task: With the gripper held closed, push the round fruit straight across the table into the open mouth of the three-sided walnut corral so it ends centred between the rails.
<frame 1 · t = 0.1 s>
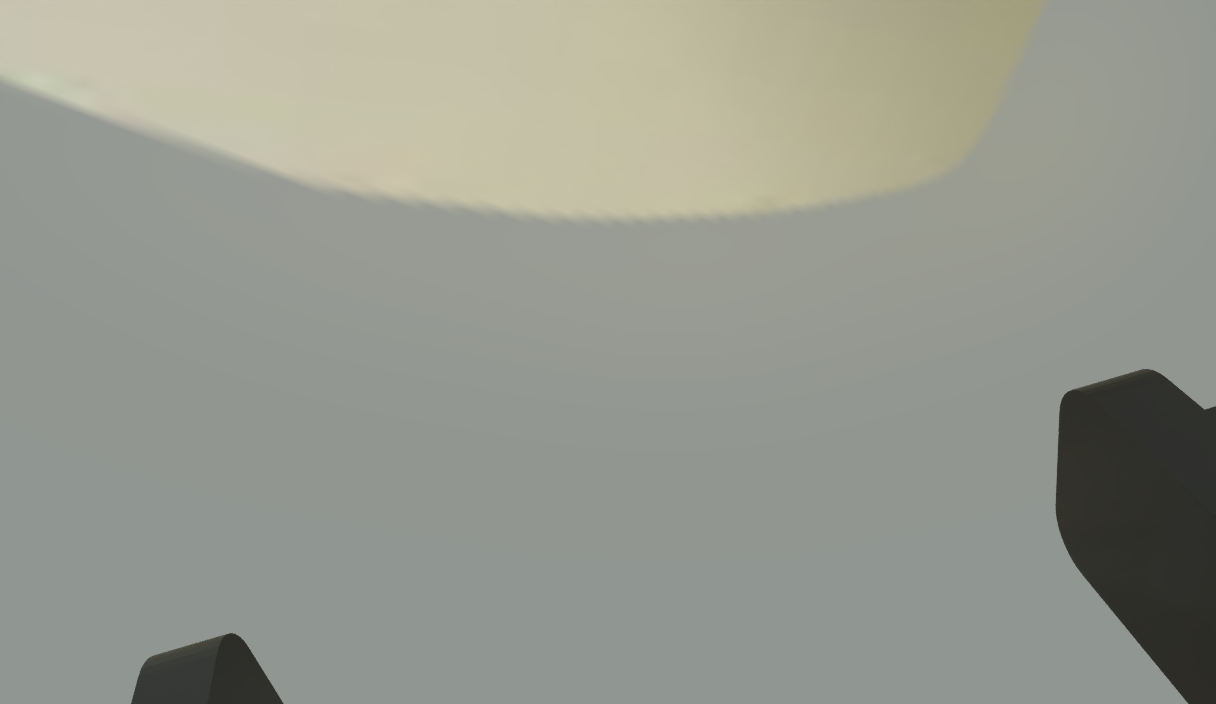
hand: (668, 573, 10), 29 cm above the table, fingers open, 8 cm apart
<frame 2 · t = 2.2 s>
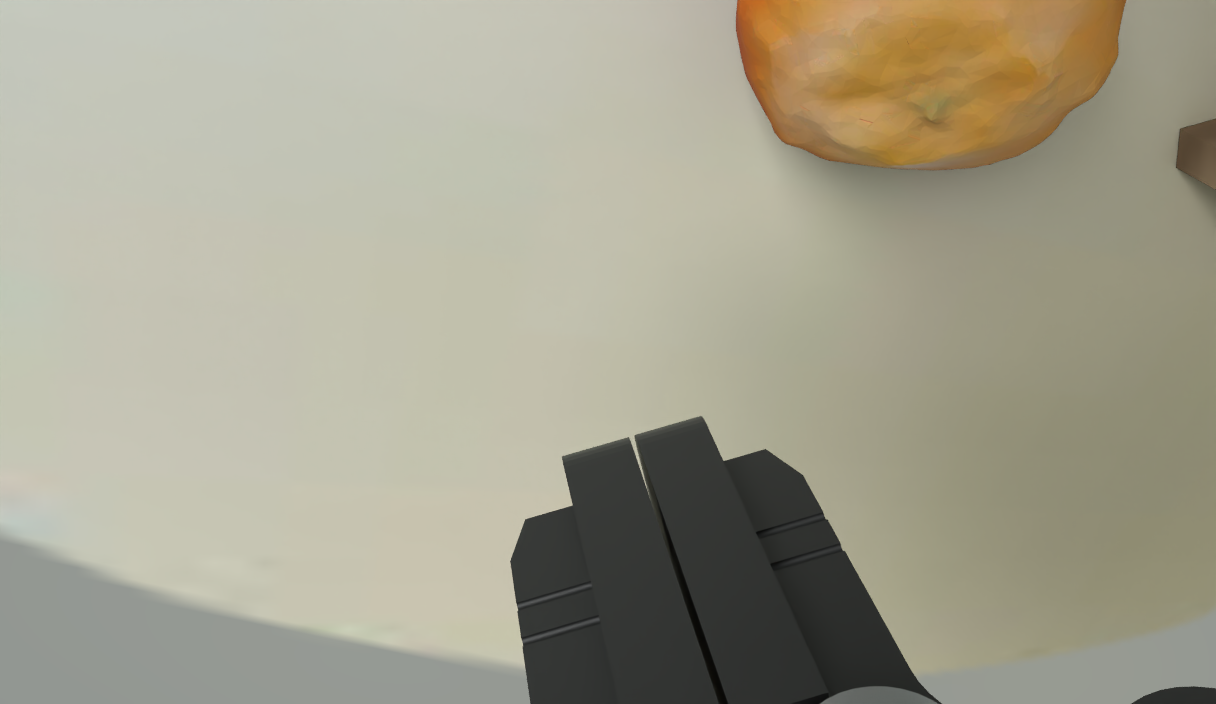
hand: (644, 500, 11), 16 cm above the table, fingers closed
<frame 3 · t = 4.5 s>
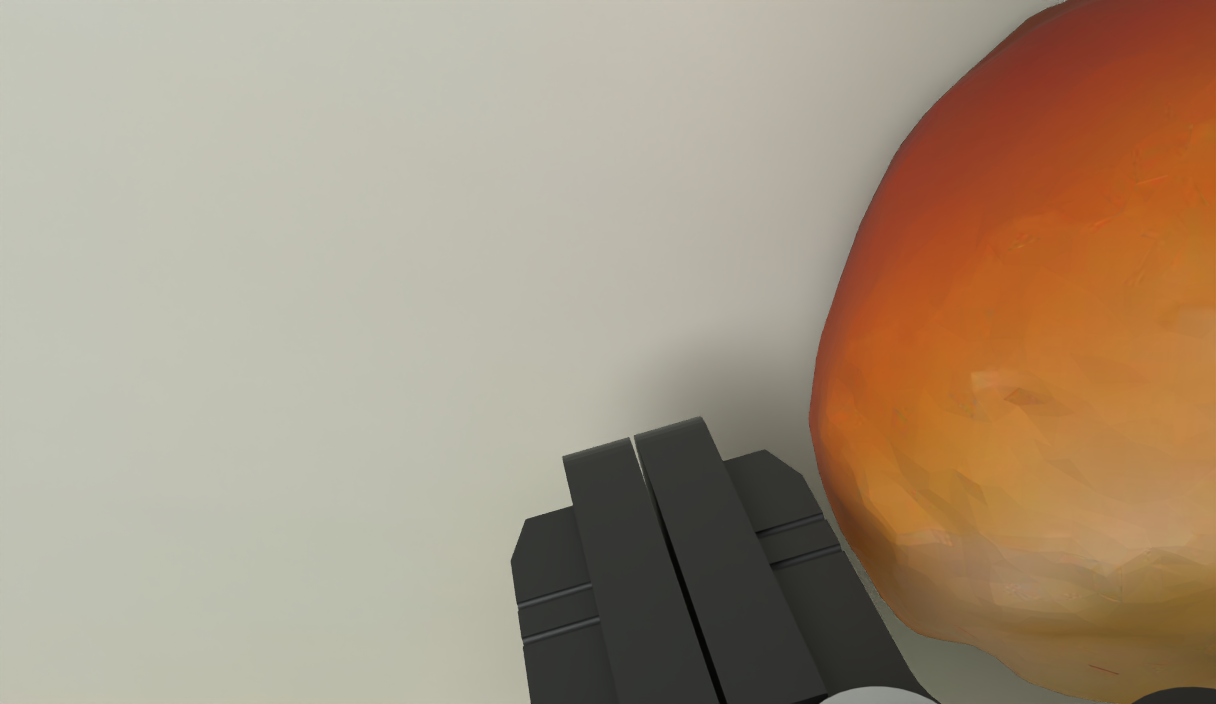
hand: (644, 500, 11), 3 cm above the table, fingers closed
fruit: (1013, 221, 13), on the table, touching gripper
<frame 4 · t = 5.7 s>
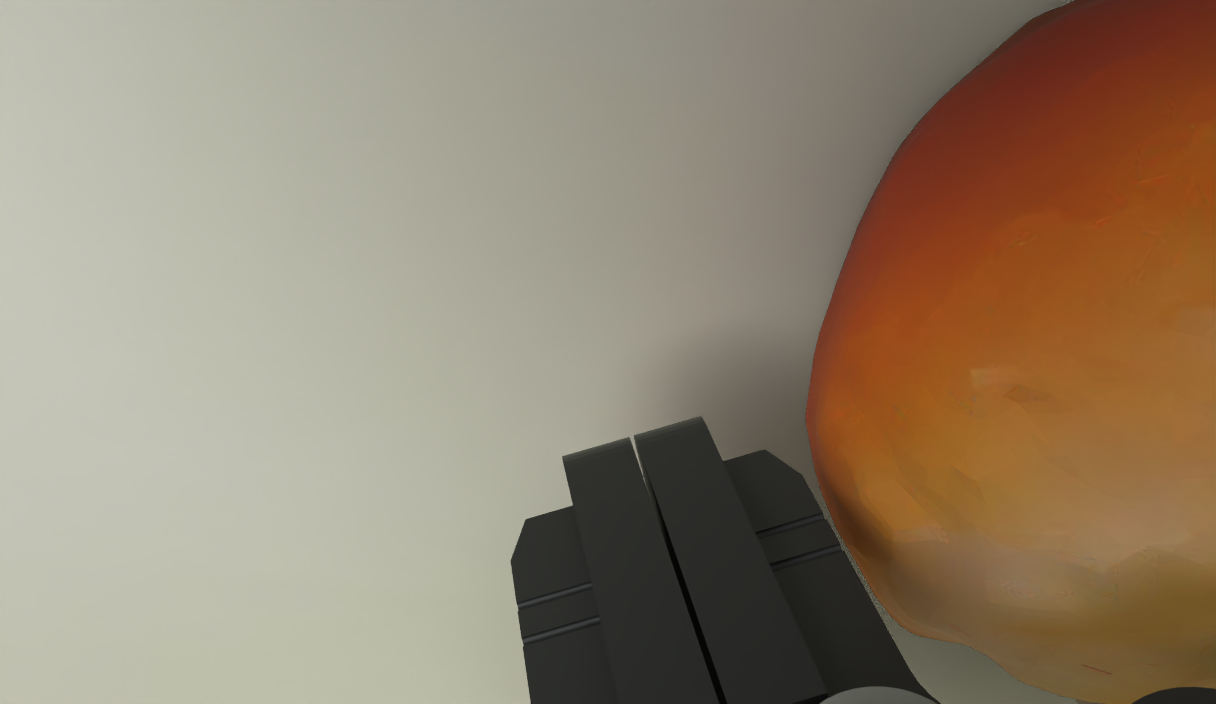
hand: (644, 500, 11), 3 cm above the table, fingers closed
fruit: (1010, 224, 14), on the table, touching gripper
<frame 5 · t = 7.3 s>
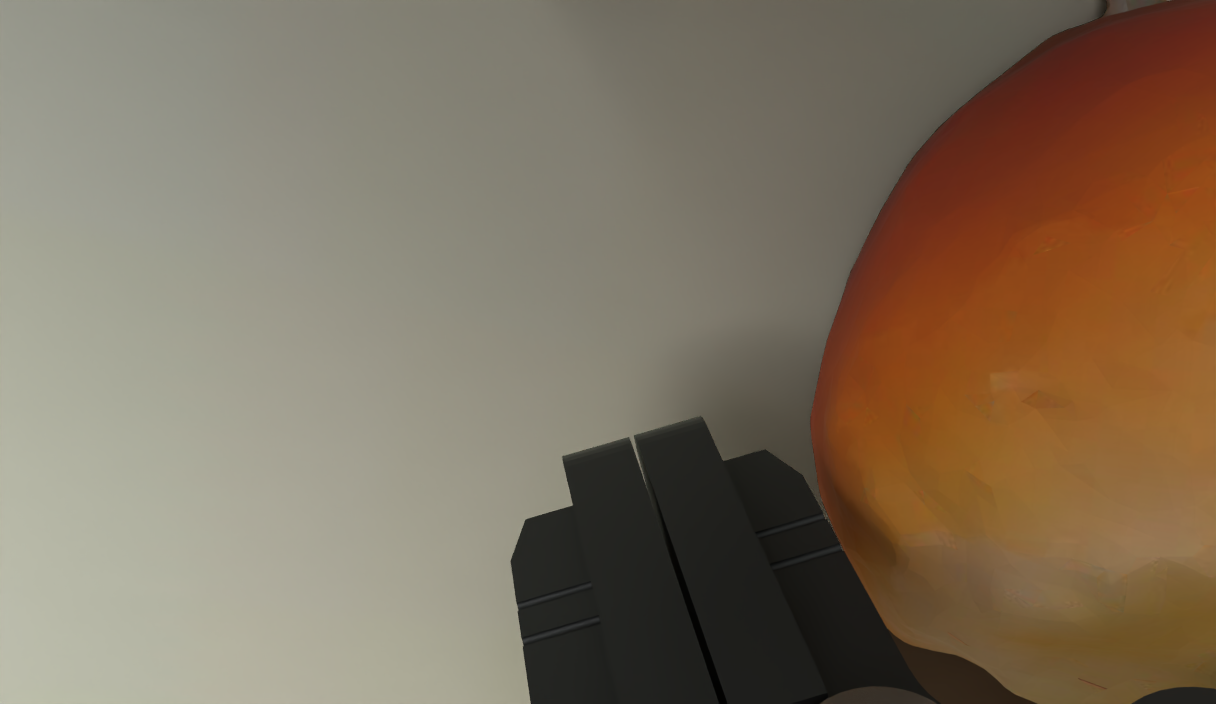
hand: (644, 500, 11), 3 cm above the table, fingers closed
walnut tray: (1014, 239, 13), on the table
fruit: (1013, 241, 14), on the table, touching gripper
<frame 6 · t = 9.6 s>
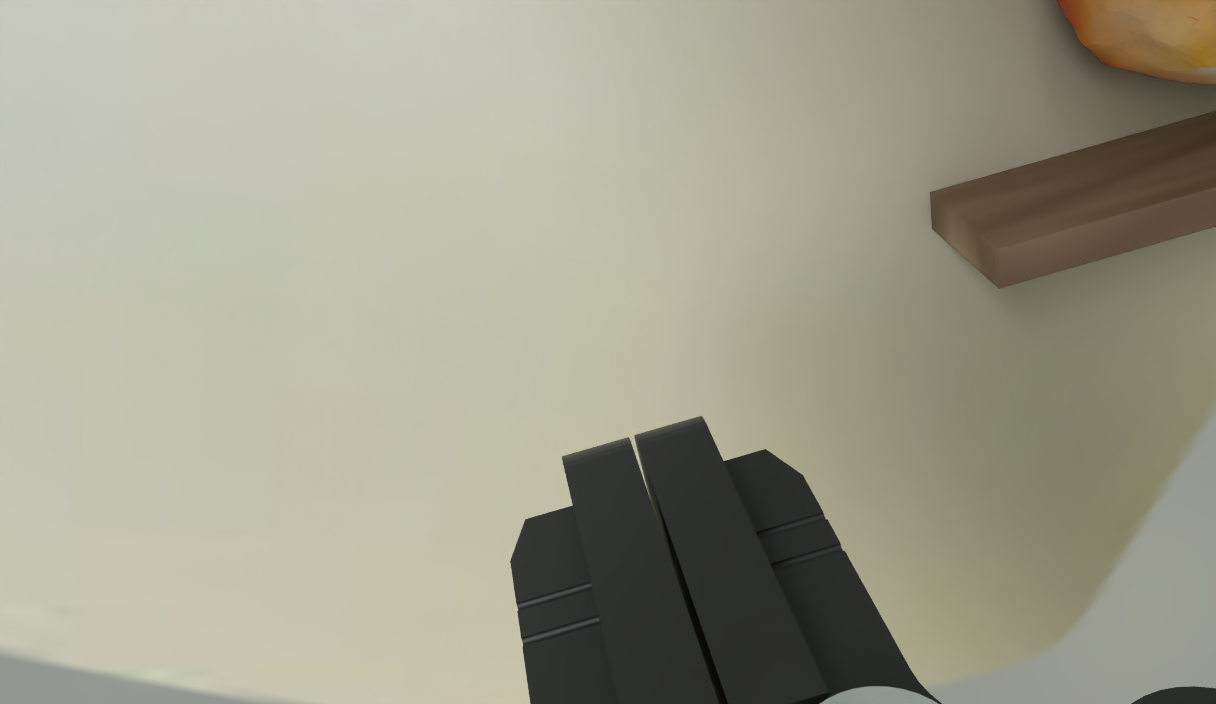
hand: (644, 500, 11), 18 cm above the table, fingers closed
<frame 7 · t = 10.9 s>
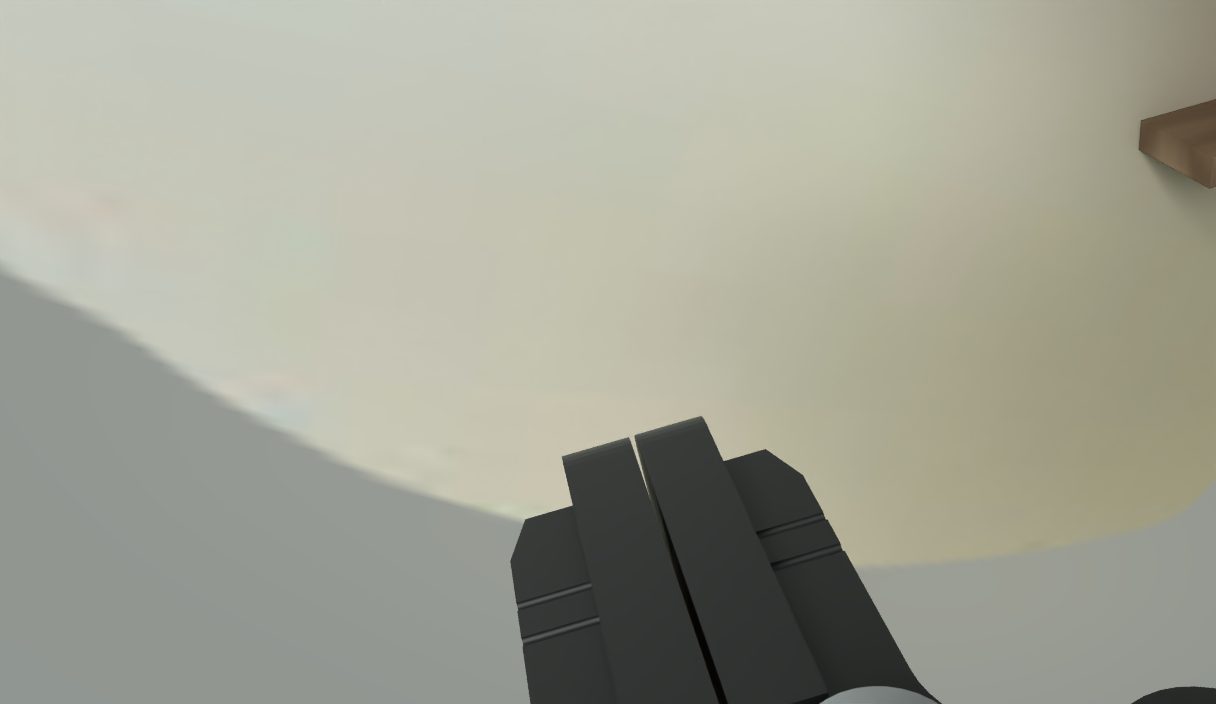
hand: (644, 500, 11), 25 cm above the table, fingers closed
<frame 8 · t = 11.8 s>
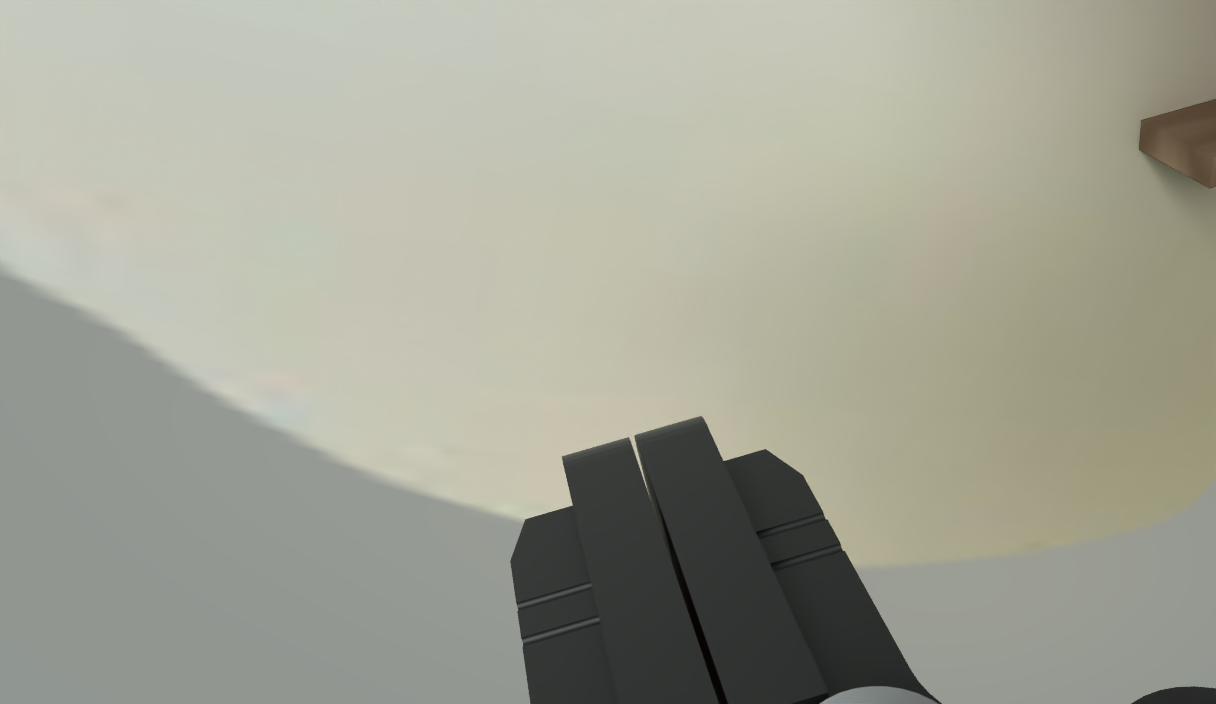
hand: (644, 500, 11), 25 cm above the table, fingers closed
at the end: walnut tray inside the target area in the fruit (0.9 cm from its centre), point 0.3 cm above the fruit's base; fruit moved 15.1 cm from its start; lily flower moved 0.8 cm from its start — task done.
